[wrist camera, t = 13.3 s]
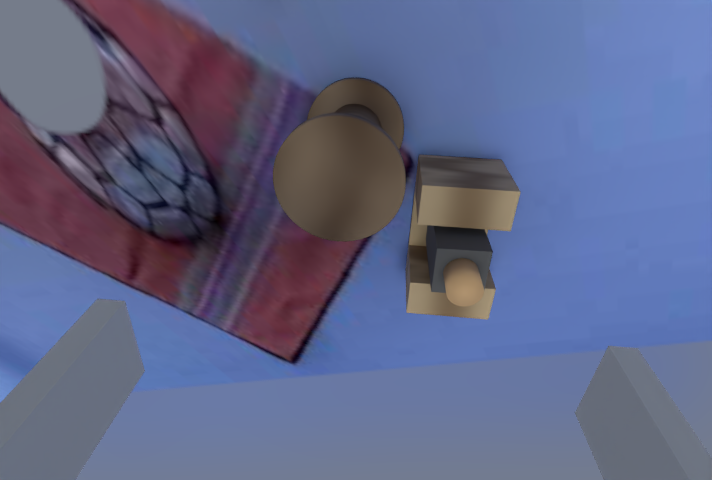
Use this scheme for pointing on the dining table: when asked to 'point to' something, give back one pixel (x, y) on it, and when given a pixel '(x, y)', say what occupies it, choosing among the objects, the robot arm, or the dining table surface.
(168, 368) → the dining table surface
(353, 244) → the dining table surface
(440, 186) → the wooden u-shaped block
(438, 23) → the dining table surface
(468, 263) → the gray block with knob
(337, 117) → the bobbin
